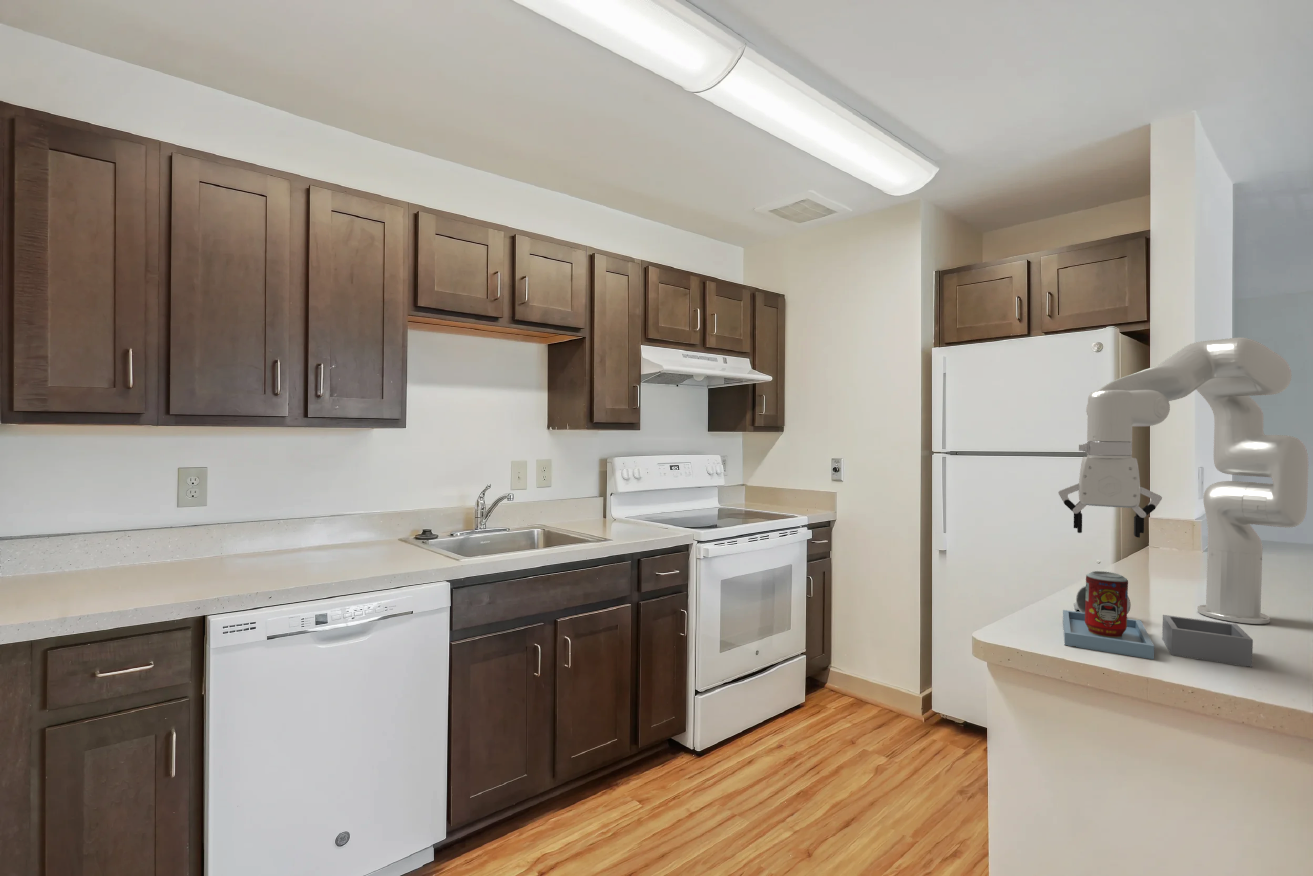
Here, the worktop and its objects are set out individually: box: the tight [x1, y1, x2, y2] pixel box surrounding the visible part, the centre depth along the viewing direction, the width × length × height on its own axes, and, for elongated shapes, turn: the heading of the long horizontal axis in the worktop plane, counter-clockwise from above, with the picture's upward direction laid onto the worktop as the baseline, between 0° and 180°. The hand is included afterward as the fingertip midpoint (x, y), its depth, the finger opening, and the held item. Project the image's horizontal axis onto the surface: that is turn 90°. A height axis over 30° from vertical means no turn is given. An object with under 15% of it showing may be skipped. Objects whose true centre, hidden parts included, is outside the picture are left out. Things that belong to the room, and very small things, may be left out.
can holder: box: [1161, 614, 1254, 668], centre depth 125 cm, size 12×12×5 cm
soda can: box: [1085, 570, 1129, 638], centre depth 132 cm, size 7×7×12 cm
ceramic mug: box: [1073, 585, 1132, 615], centre depth 149 cm, size 11×8×8 cm
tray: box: [1062, 609, 1155, 660], centre depth 132 cm, size 20×14×2 cm
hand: (1107, 534), depth 132 cm, fingers open, 9 cm apart
